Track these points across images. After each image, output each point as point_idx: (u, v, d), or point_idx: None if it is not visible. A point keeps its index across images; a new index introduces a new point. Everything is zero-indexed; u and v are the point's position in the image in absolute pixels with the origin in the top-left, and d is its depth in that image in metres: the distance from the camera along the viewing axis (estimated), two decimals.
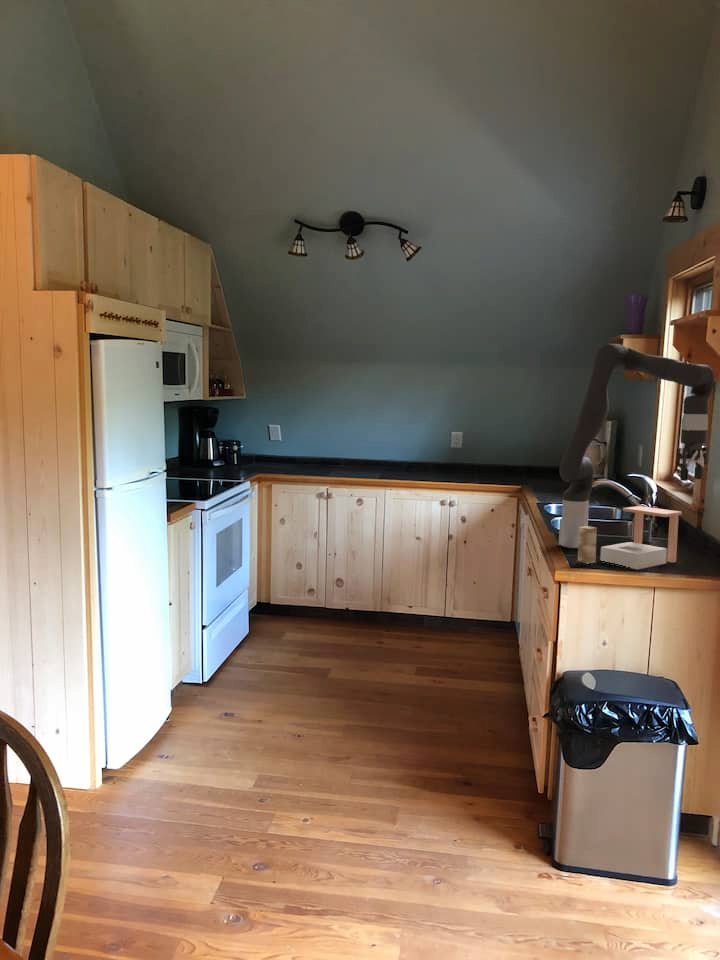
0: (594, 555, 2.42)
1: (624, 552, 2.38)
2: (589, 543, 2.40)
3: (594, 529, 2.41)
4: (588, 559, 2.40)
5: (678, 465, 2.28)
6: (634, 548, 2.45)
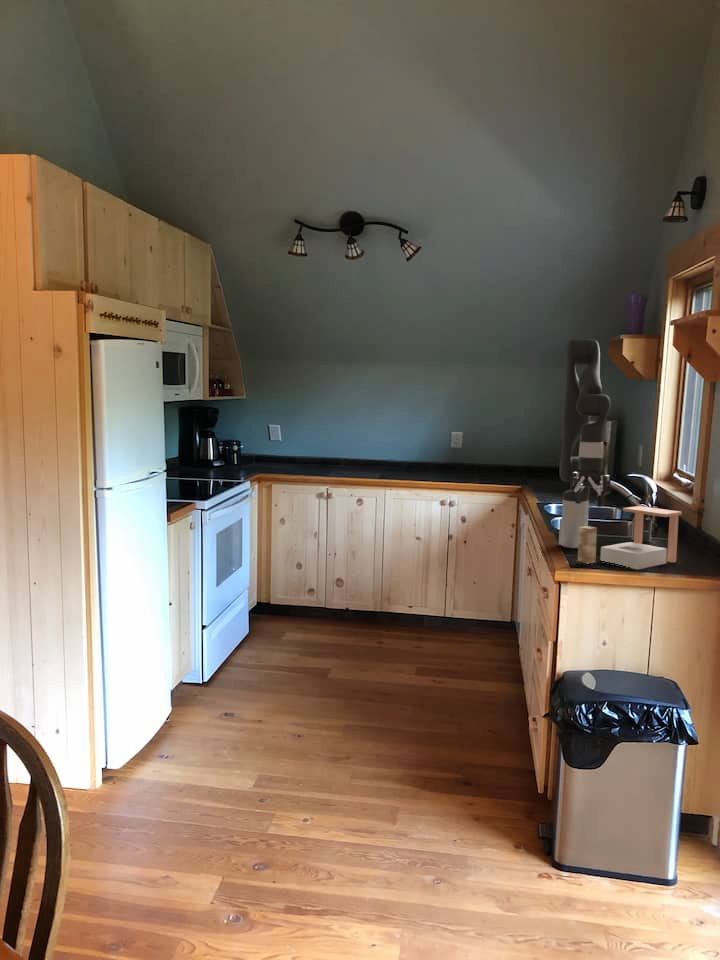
0: (594, 555, 2.42)
1: (624, 552, 2.38)
2: (589, 543, 2.40)
3: (594, 529, 2.41)
4: (588, 559, 2.40)
5: (606, 492, 2.35)
6: (634, 548, 2.45)
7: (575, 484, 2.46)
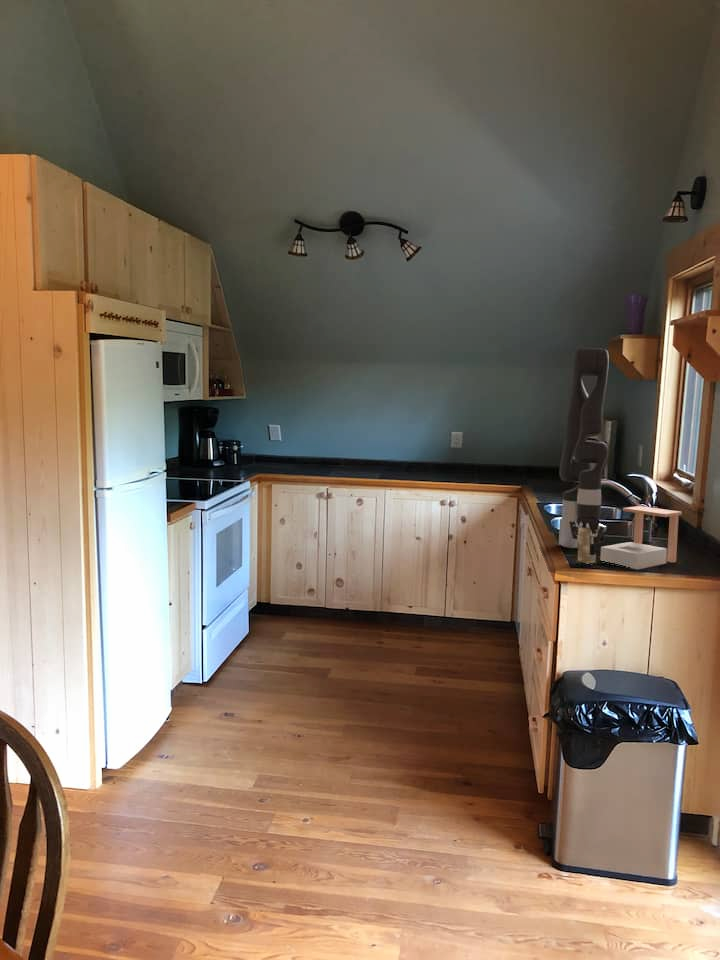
0: (594, 555, 2.42)
1: (624, 552, 2.38)
2: (589, 543, 2.40)
3: None
4: (588, 559, 2.40)
5: (598, 542, 2.38)
6: (634, 548, 2.45)
7: (577, 533, 2.47)
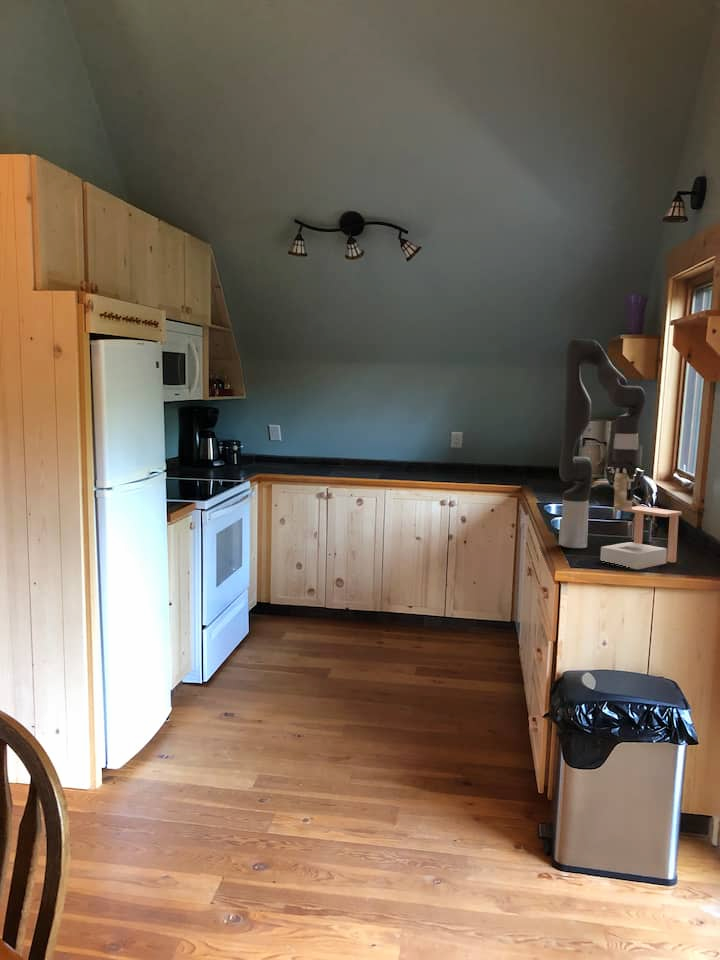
0: (631, 501, 2.40)
1: (624, 552, 2.38)
2: (626, 488, 2.38)
3: None
4: (624, 504, 2.39)
5: (635, 487, 2.36)
6: (634, 548, 2.45)
7: (613, 479, 2.45)
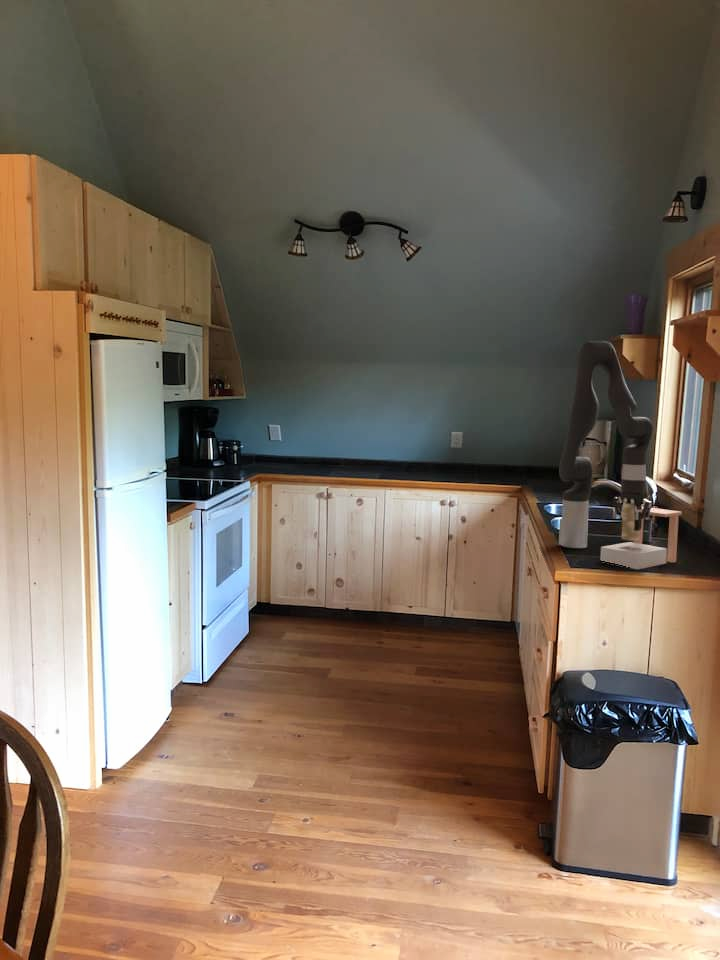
0: (638, 531, 2.42)
1: (624, 552, 2.38)
2: (634, 518, 2.40)
3: None
4: (632, 535, 2.40)
5: (643, 517, 2.38)
6: (634, 548, 2.45)
7: (620, 509, 2.46)
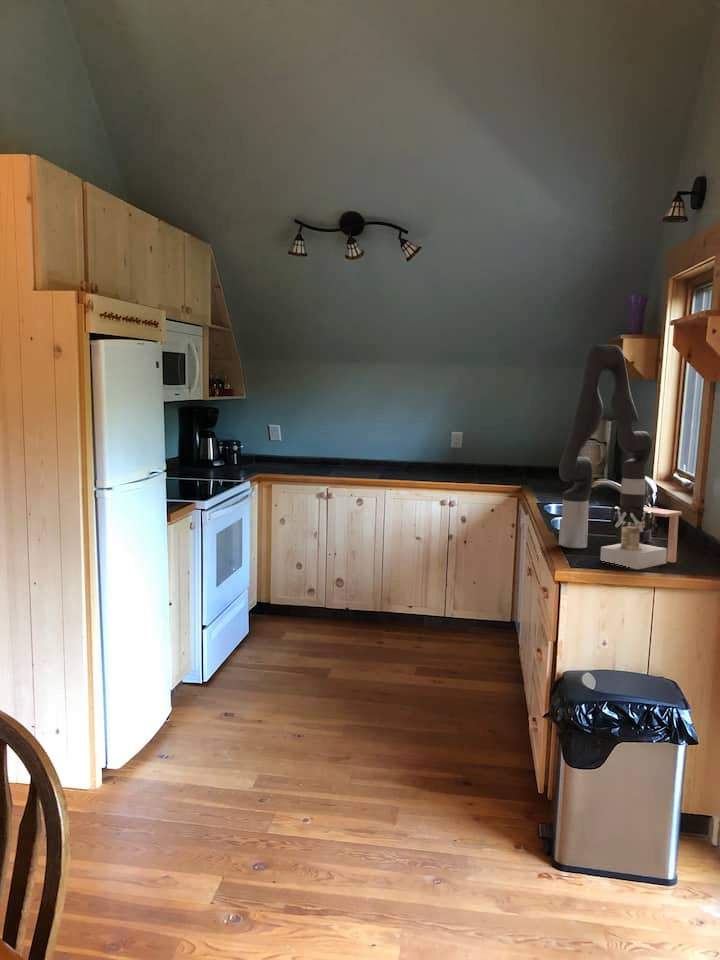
0: None
1: (624, 552, 2.38)
2: (632, 543, 2.40)
3: (637, 529, 2.41)
4: None
5: (649, 529, 2.36)
6: None
7: (616, 519, 2.48)
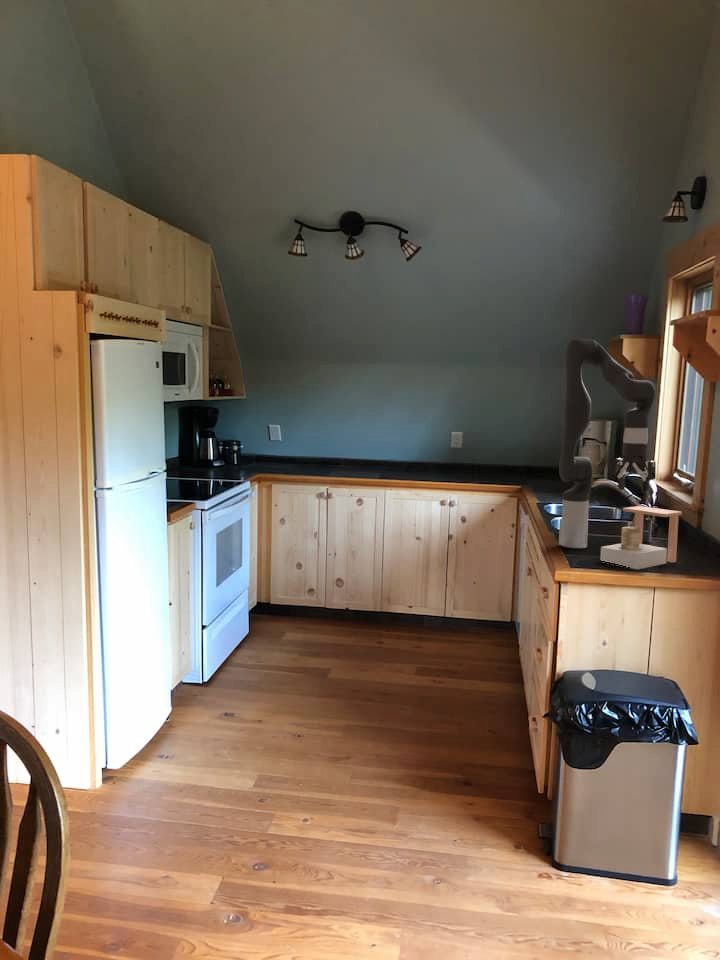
0: None
1: (624, 552, 2.38)
2: (632, 543, 2.40)
3: (637, 529, 2.41)
4: None
5: (651, 478, 2.35)
6: None
7: (618, 470, 2.46)
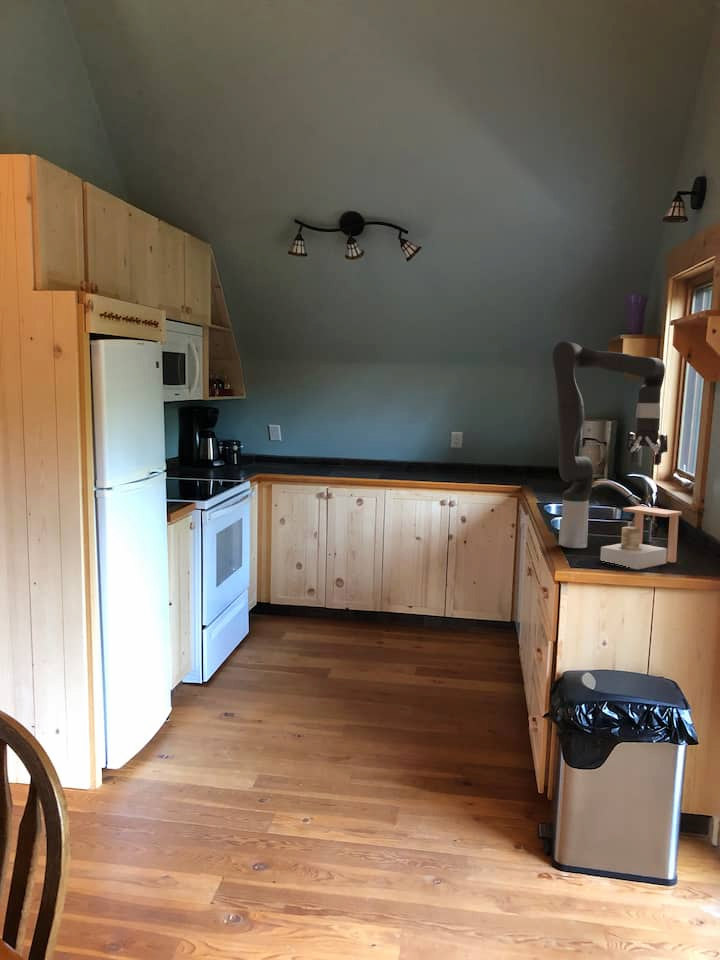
0: None
1: (624, 552, 2.38)
2: (632, 543, 2.40)
3: (637, 529, 2.41)
4: None
5: (663, 451, 2.46)
6: None
7: (631, 445, 2.57)
